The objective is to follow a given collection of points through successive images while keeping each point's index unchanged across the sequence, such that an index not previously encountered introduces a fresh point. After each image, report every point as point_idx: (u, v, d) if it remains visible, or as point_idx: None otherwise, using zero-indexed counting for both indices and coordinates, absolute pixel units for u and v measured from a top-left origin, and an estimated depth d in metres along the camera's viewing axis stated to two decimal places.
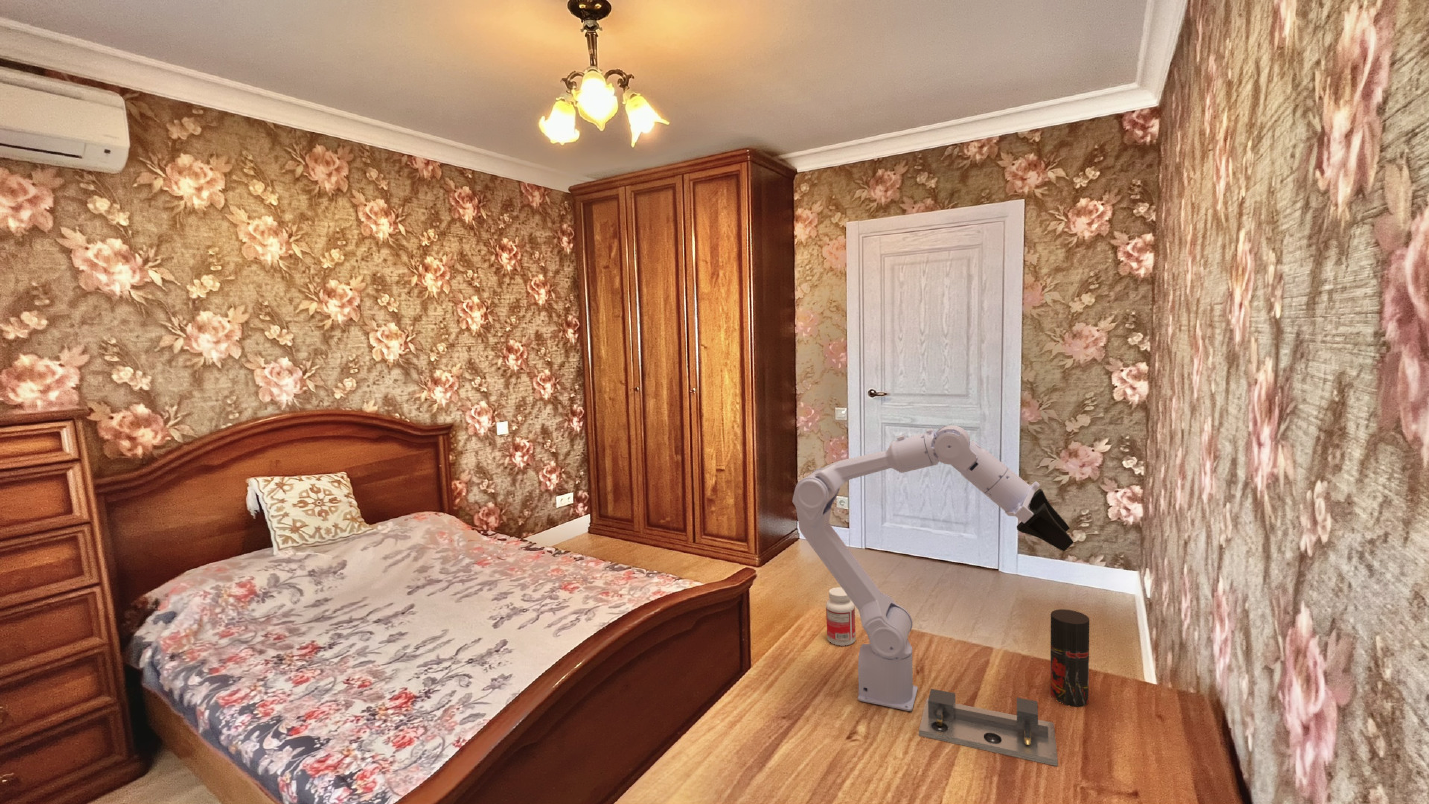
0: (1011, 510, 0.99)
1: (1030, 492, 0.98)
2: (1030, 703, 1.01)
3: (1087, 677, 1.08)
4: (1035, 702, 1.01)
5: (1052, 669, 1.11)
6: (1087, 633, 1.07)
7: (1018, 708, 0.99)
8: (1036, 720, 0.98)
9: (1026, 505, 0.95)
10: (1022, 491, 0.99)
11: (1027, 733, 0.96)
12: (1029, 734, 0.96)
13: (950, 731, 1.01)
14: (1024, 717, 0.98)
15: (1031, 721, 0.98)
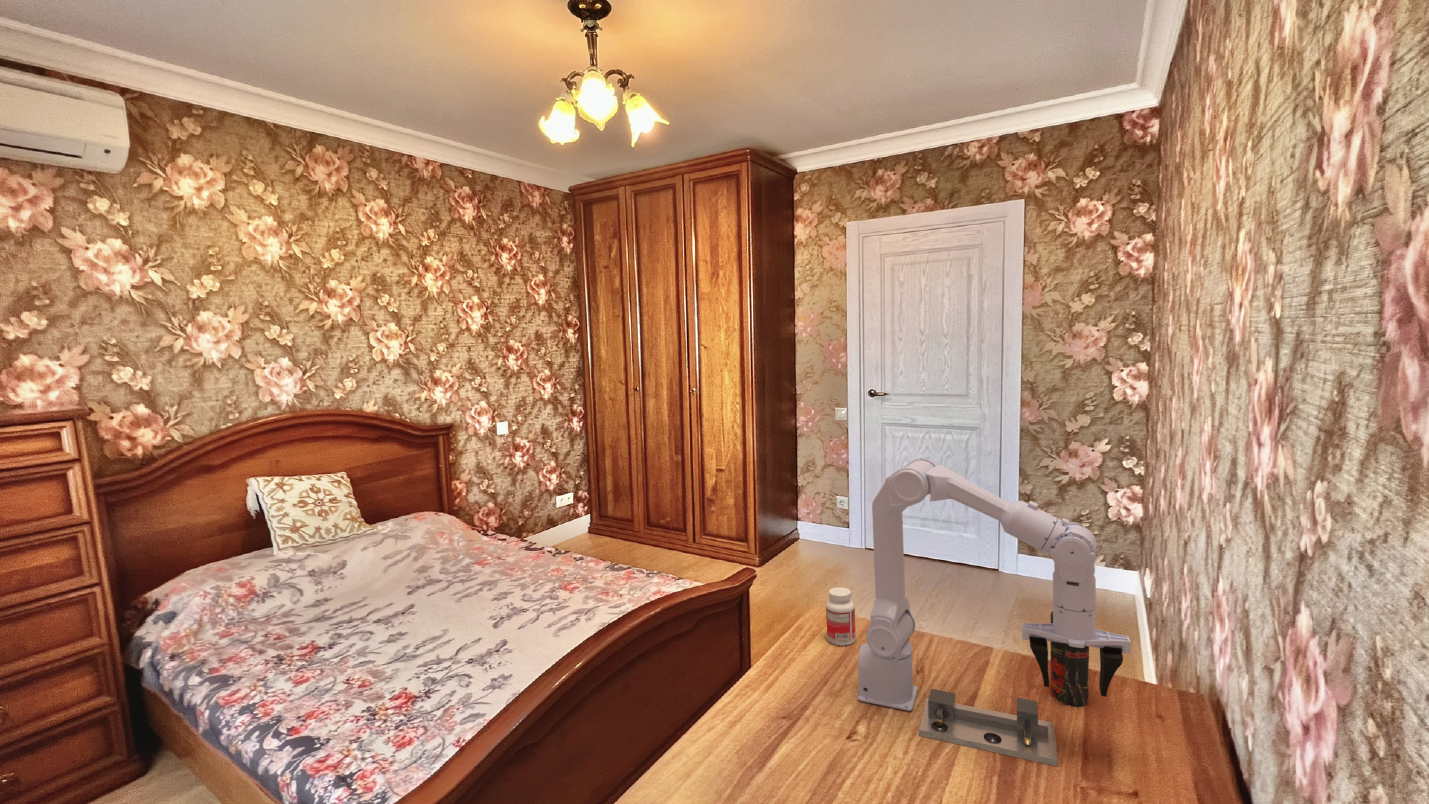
0: None
1: (1059, 637, 0.95)
2: (1030, 703, 1.01)
3: (1086, 677, 1.08)
4: (1035, 702, 1.01)
5: (1052, 669, 1.11)
6: None
7: (1018, 708, 0.99)
8: (1036, 720, 0.98)
9: (1031, 632, 0.98)
10: (1058, 629, 0.95)
11: (1027, 733, 0.96)
12: (1029, 734, 0.96)
13: (950, 731, 1.01)
14: (1024, 717, 0.98)
15: (1031, 721, 0.98)
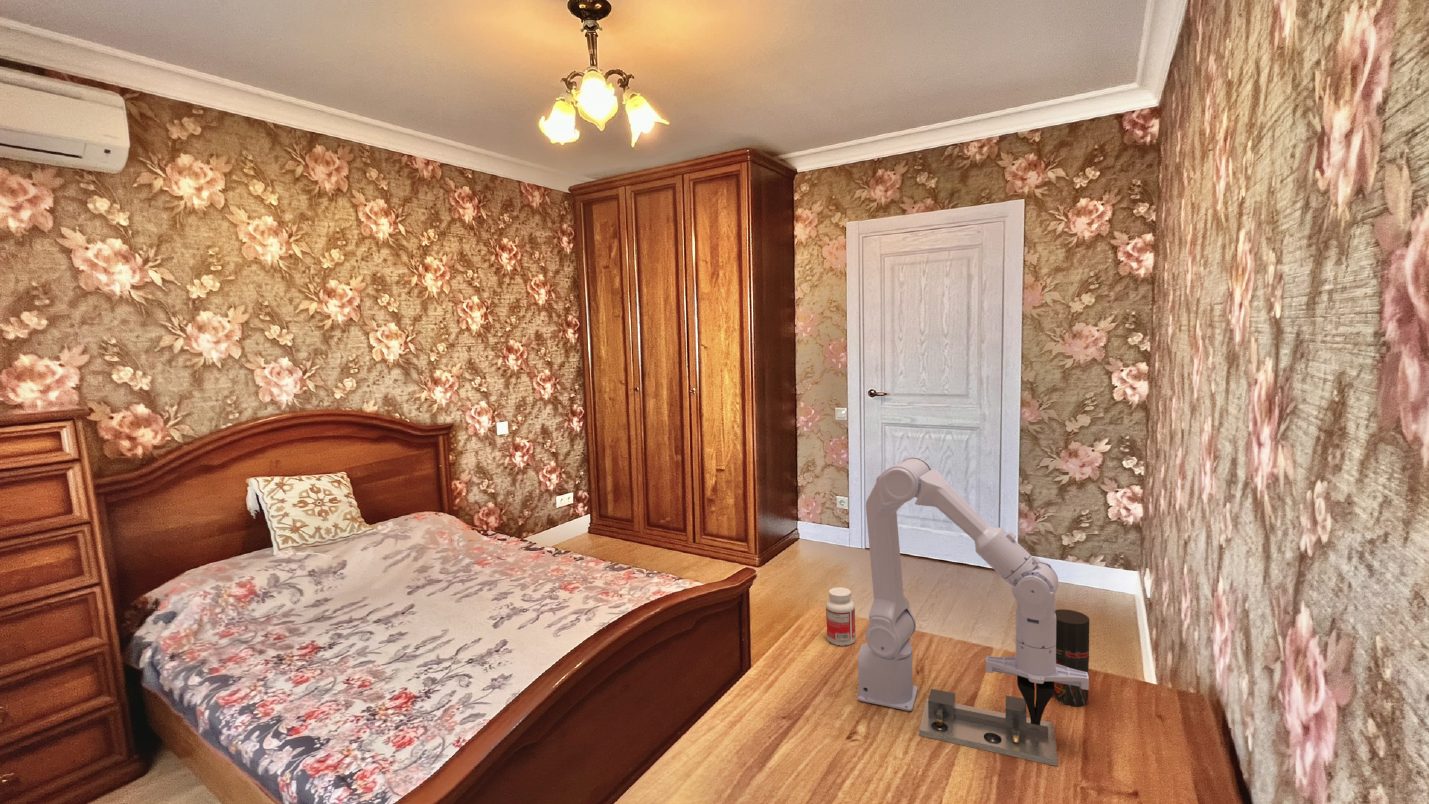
0: None
1: (1020, 672, 0.98)
2: (1018, 700, 1.01)
3: None
4: (1024, 700, 1.02)
5: None
6: (1087, 633, 1.07)
7: (1007, 706, 1.00)
8: (1024, 718, 0.98)
9: (994, 666, 1.00)
10: (1020, 664, 0.98)
11: (1015, 731, 0.97)
12: (1017, 732, 0.97)
13: (950, 731, 1.01)
14: (1013, 715, 0.99)
15: (1020, 719, 0.99)
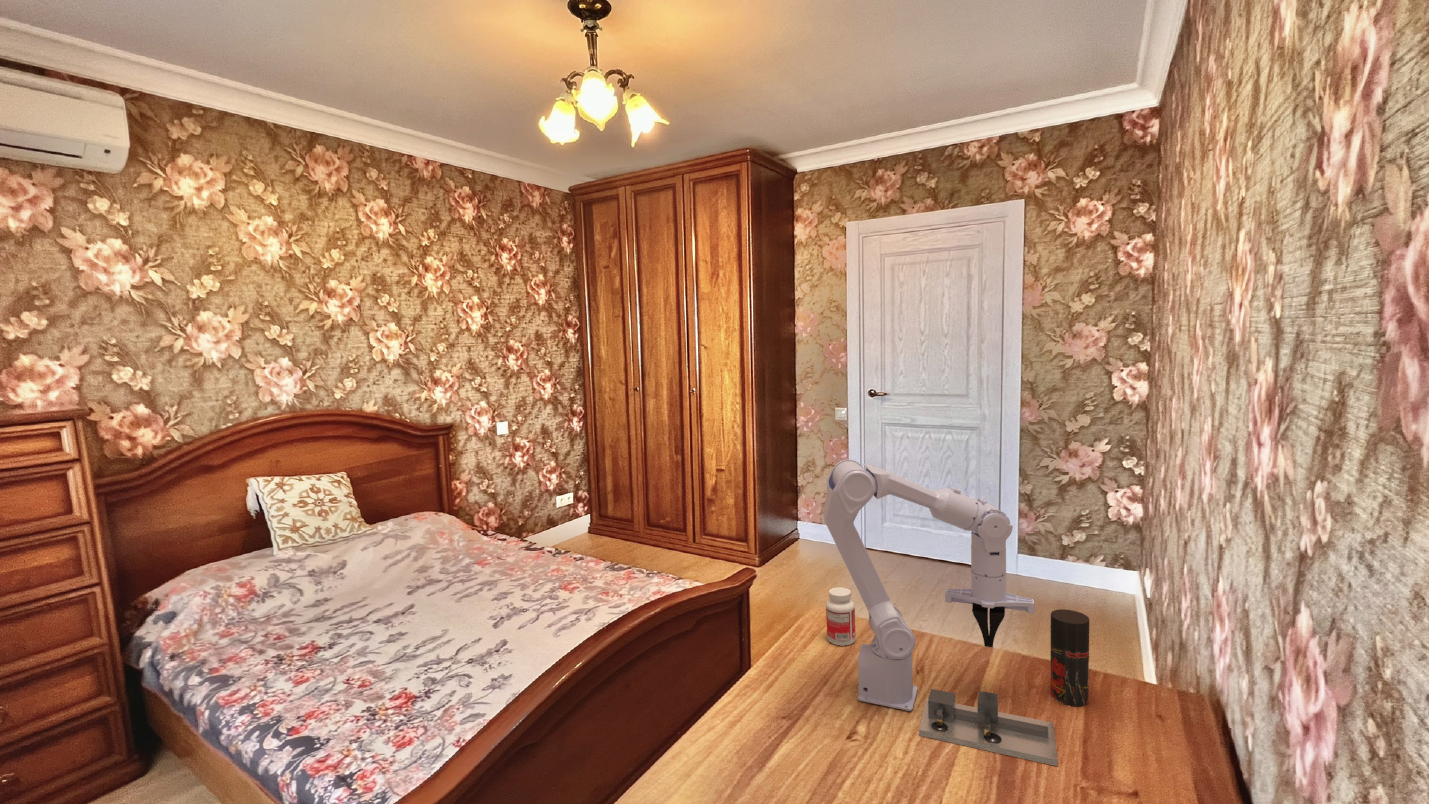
0: None
1: (974, 600, 1.10)
2: (991, 695, 1.03)
3: (1086, 677, 1.08)
4: (996, 695, 1.03)
5: (1052, 669, 1.11)
6: (1087, 633, 1.07)
7: (979, 700, 1.02)
8: (996, 712, 1.00)
9: (952, 596, 1.13)
10: (974, 593, 1.11)
11: (986, 725, 0.99)
12: (988, 726, 0.99)
13: (950, 731, 1.01)
14: (985, 709, 1.01)
15: (991, 713, 1.01)
